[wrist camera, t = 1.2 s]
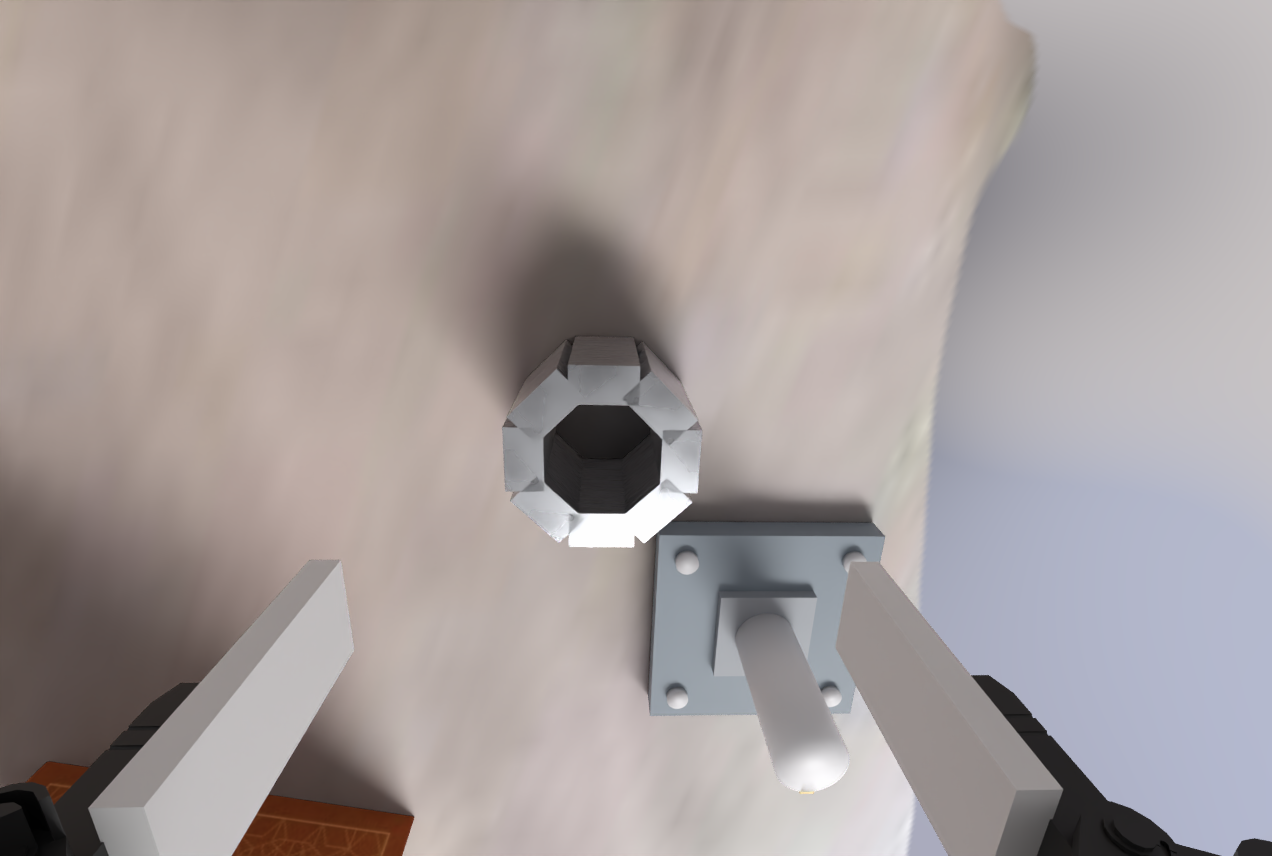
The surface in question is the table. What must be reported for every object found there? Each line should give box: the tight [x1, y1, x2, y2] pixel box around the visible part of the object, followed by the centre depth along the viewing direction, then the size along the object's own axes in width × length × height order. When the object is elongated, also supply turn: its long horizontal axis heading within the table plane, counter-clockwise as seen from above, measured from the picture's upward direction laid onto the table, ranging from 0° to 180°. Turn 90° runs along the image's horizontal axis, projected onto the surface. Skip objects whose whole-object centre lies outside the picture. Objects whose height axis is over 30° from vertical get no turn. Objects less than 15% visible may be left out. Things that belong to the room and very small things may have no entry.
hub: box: [502, 336, 702, 547], centre depth 27 cm, size 8×8×6 cm
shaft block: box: [648, 521, 885, 794], centre depth 29 cm, size 12×12×10 cm
